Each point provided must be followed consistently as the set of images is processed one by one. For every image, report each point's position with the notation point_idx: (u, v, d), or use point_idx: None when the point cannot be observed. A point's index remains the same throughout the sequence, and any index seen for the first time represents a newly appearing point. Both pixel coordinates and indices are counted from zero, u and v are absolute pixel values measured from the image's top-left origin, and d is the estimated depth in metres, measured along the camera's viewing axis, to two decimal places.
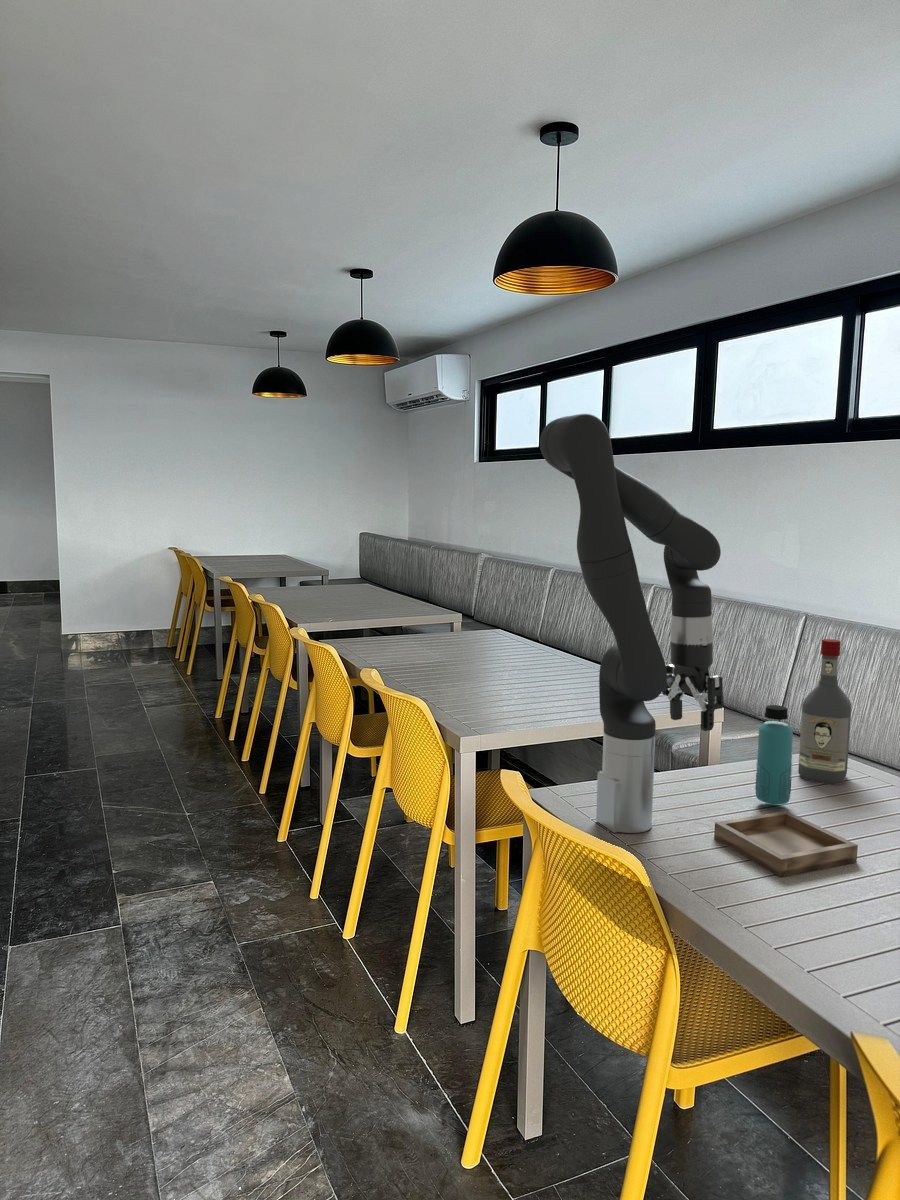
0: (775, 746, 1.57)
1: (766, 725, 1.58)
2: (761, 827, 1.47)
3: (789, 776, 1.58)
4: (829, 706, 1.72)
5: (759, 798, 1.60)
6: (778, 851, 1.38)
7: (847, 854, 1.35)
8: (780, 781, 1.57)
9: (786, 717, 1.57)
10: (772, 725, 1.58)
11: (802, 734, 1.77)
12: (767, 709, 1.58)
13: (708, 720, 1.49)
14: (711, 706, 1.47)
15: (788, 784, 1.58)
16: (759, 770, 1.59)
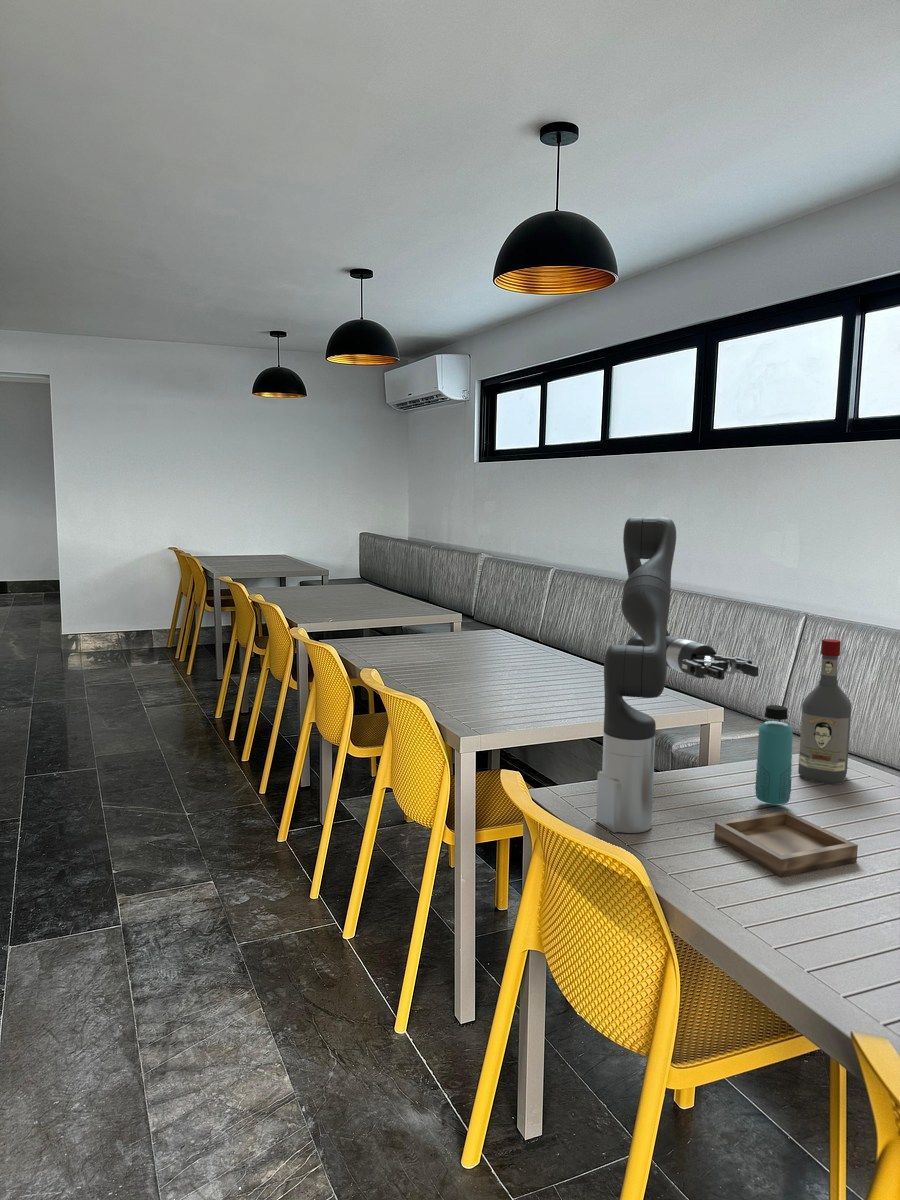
0: (775, 746, 1.57)
1: (766, 725, 1.58)
2: (761, 827, 1.47)
3: (789, 776, 1.58)
4: (829, 706, 1.72)
5: (759, 798, 1.60)
6: (778, 851, 1.38)
7: (847, 854, 1.35)
8: (780, 781, 1.57)
9: (786, 717, 1.57)
10: (772, 725, 1.58)
11: (802, 734, 1.77)
12: (767, 709, 1.58)
13: None
14: (750, 660, 1.75)
15: (788, 784, 1.58)
16: (759, 770, 1.59)
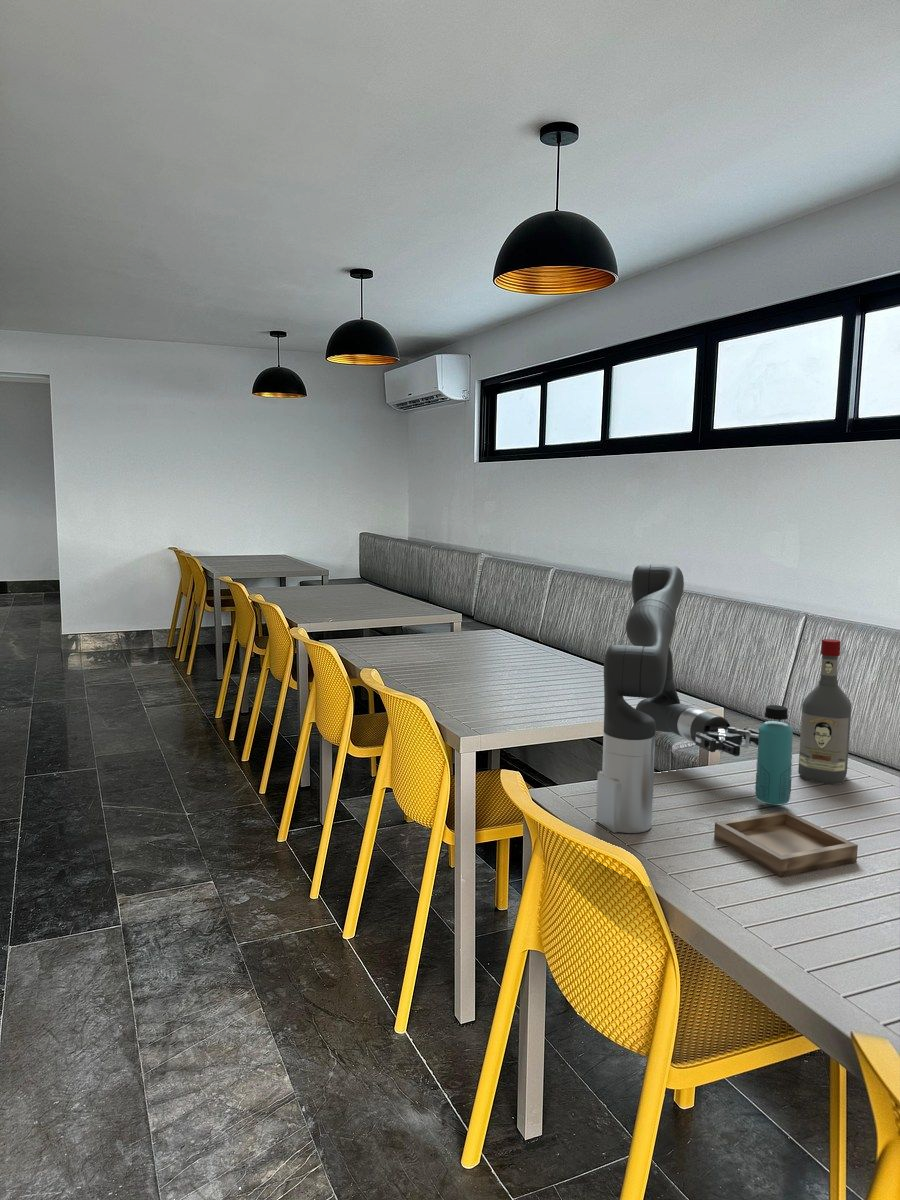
0: (775, 746, 1.57)
1: (766, 725, 1.58)
2: (761, 827, 1.47)
3: (789, 776, 1.58)
4: (829, 706, 1.72)
5: (759, 798, 1.60)
6: (778, 851, 1.38)
7: (847, 854, 1.35)
8: (780, 781, 1.57)
9: (786, 717, 1.57)
10: (772, 725, 1.58)
11: (802, 734, 1.77)
12: (767, 709, 1.58)
13: None
14: None
15: (788, 784, 1.58)
16: (759, 770, 1.59)
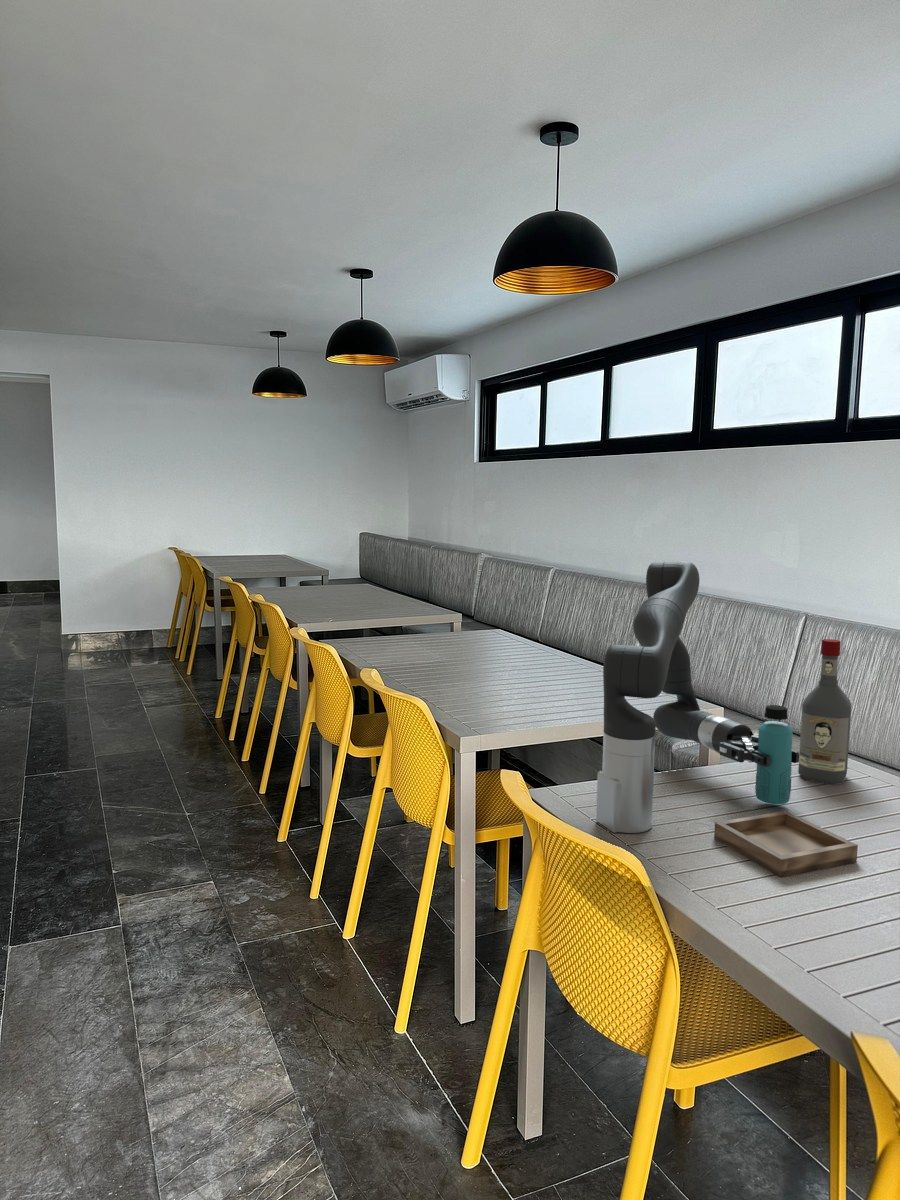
0: (775, 746, 1.57)
1: (766, 725, 1.58)
2: (761, 827, 1.47)
3: (789, 776, 1.58)
4: (829, 706, 1.72)
5: (759, 798, 1.60)
6: (778, 851, 1.38)
7: (847, 854, 1.35)
8: (779, 781, 1.57)
9: (786, 717, 1.57)
10: (772, 725, 1.58)
11: (802, 734, 1.77)
12: (767, 709, 1.58)
13: None
14: None
15: (788, 784, 1.58)
16: (759, 770, 1.59)
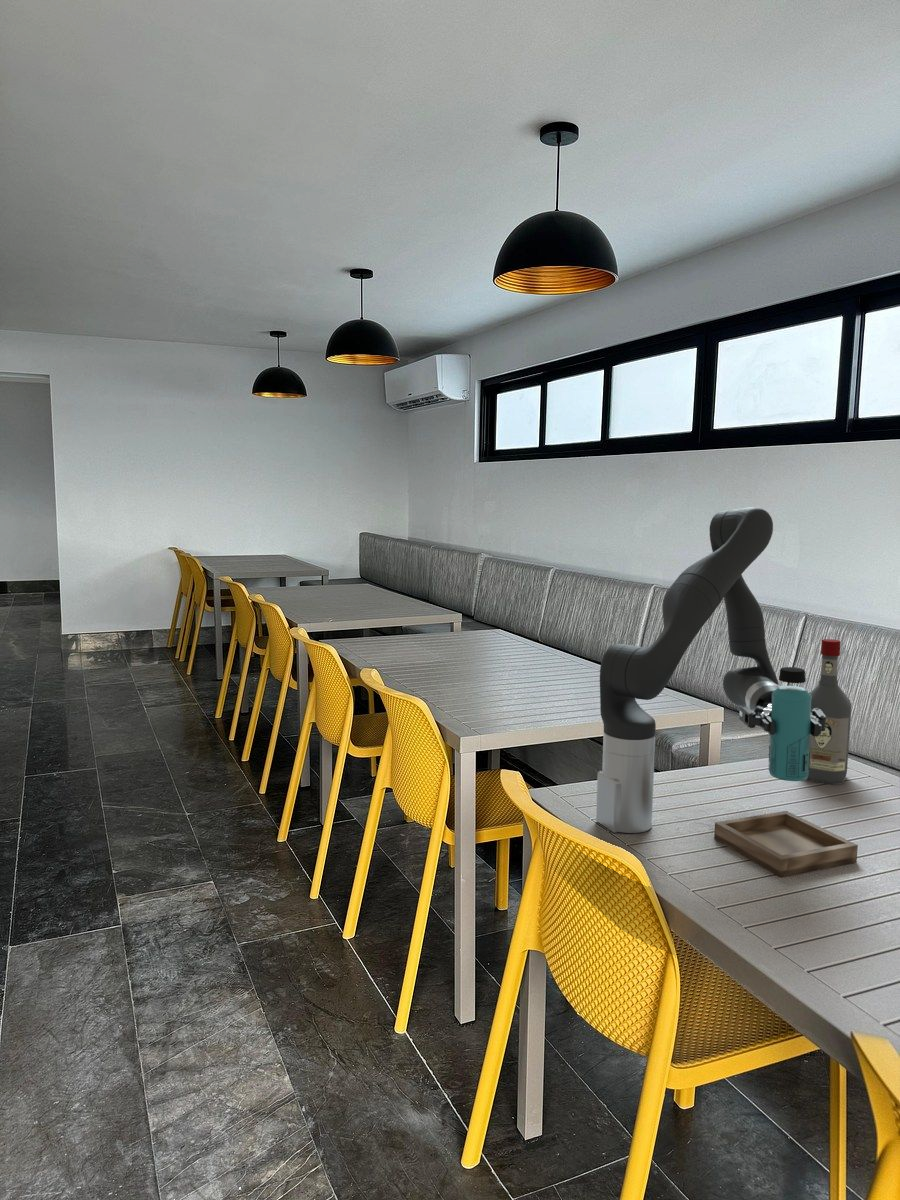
0: (782, 713, 1.36)
1: (778, 688, 1.38)
2: (761, 827, 1.47)
3: (802, 750, 1.36)
4: (829, 706, 1.72)
5: (769, 771, 1.40)
6: (778, 851, 1.38)
7: (847, 854, 1.35)
8: (787, 753, 1.36)
9: (800, 681, 1.36)
10: (784, 689, 1.37)
11: None
12: (780, 670, 1.38)
13: (819, 724, 1.38)
14: (824, 716, 1.40)
15: (800, 759, 1.36)
16: (770, 739, 1.40)
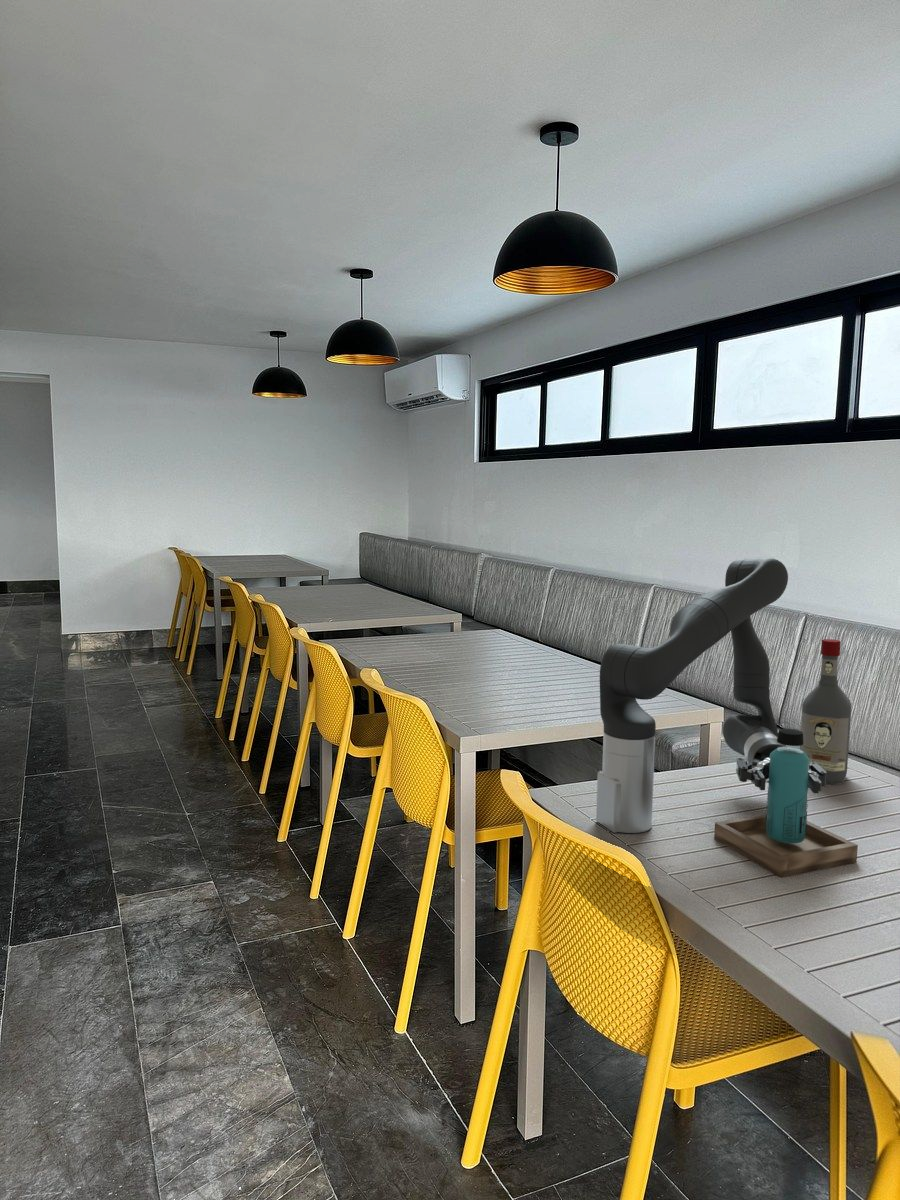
0: (779, 775, 1.37)
1: (776, 750, 1.39)
2: (761, 827, 1.47)
3: (799, 812, 1.37)
4: (829, 706, 1.72)
5: (766, 831, 1.41)
6: (778, 851, 1.38)
7: (847, 854, 1.35)
8: (784, 815, 1.37)
9: (797, 744, 1.37)
10: (782, 751, 1.38)
11: None
12: (778, 732, 1.39)
13: (819, 780, 1.39)
14: (824, 771, 1.41)
15: (797, 821, 1.37)
16: (767, 800, 1.41)
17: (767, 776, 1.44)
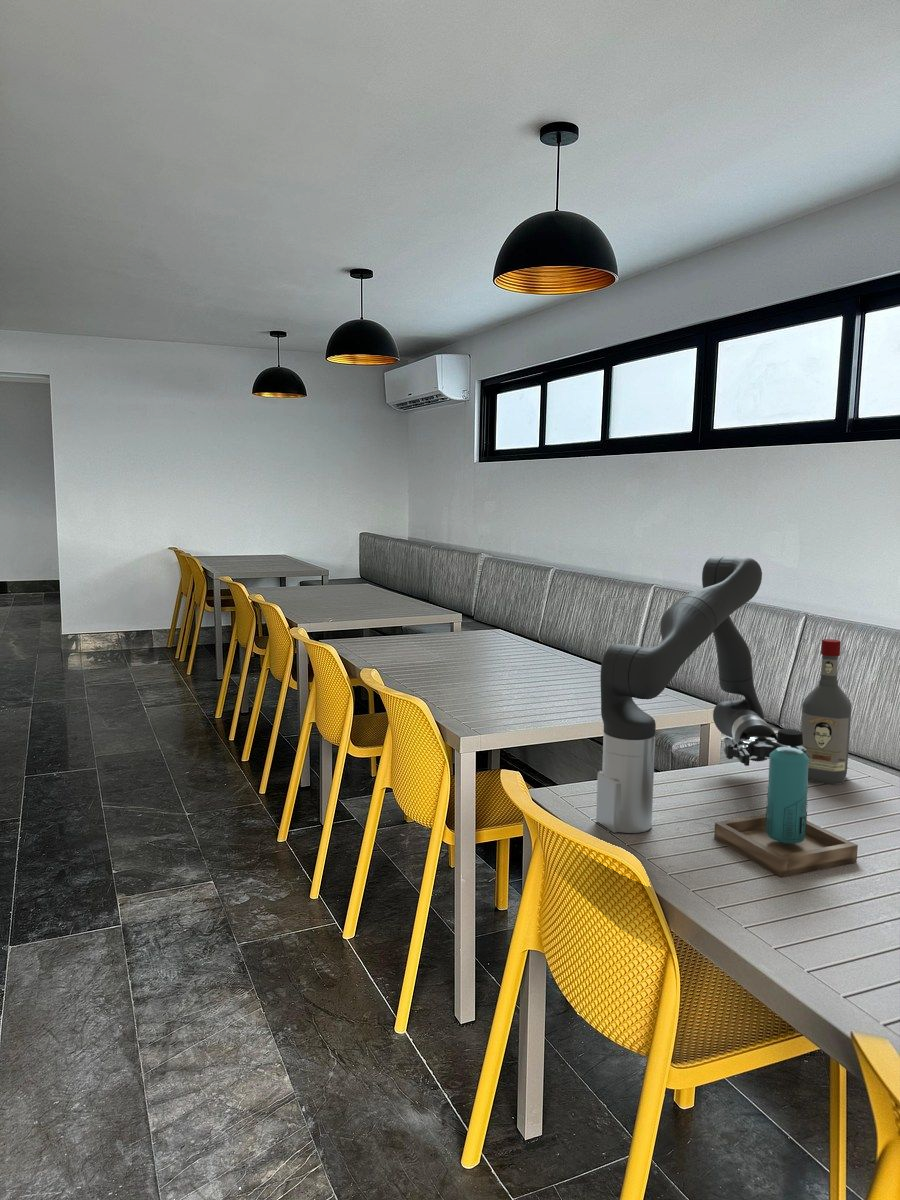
0: (779, 775, 1.37)
1: (775, 750, 1.39)
2: (761, 827, 1.47)
3: (799, 813, 1.37)
4: (829, 706, 1.72)
5: (766, 832, 1.41)
6: (778, 851, 1.38)
7: (847, 854, 1.35)
8: (784, 815, 1.37)
9: (797, 744, 1.36)
10: (781, 751, 1.38)
11: None
12: (778, 732, 1.39)
13: None
14: (804, 749, 1.54)
15: (797, 821, 1.37)
16: (767, 800, 1.41)
17: (752, 754, 1.57)
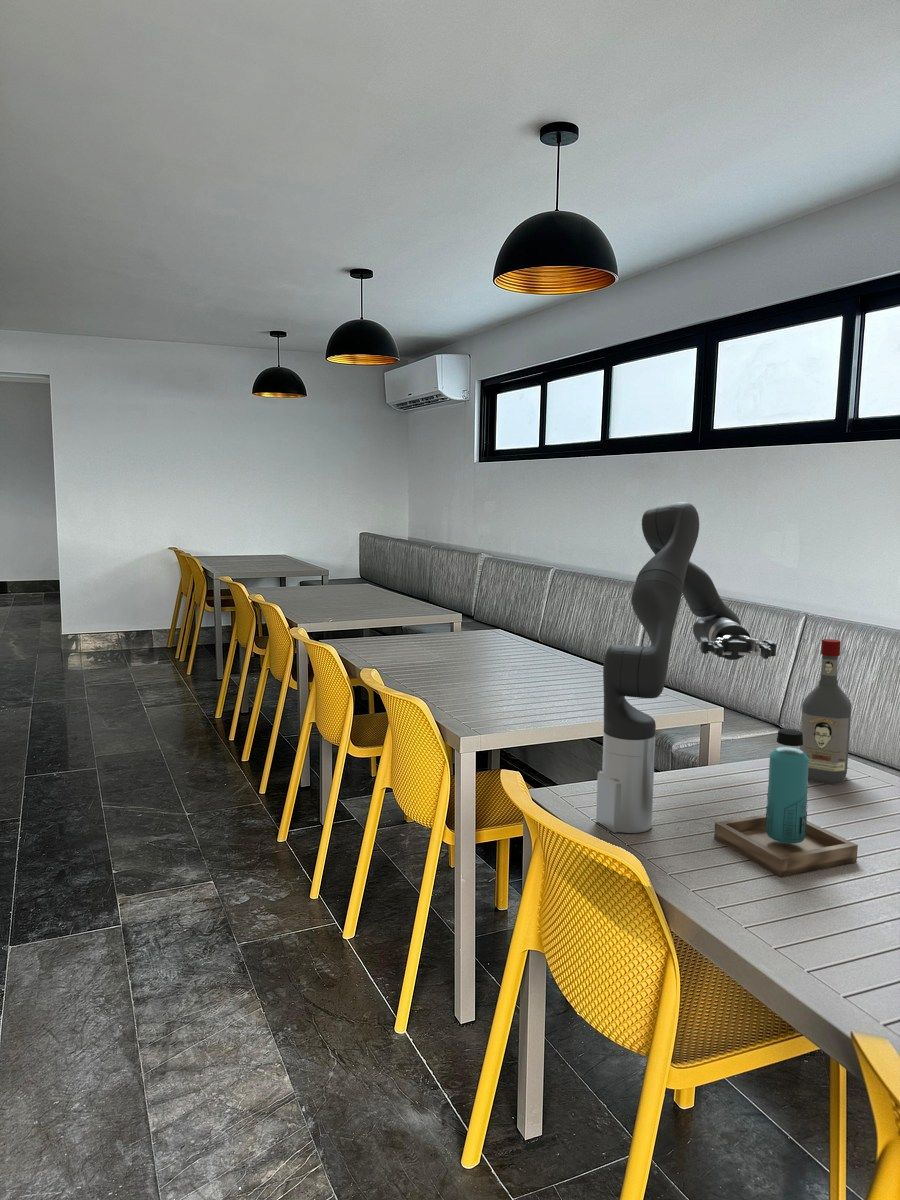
0: (779, 775, 1.37)
1: (775, 750, 1.39)
2: (761, 827, 1.47)
3: (799, 813, 1.37)
4: (829, 706, 1.72)
5: (766, 831, 1.41)
6: (778, 851, 1.38)
7: (847, 854, 1.35)
8: (784, 815, 1.37)
9: (797, 744, 1.36)
10: (781, 751, 1.38)
11: None
12: (778, 732, 1.39)
13: (769, 649, 1.61)
14: (774, 643, 1.64)
15: (797, 821, 1.37)
16: (767, 800, 1.41)
17: (726, 649, 1.66)
